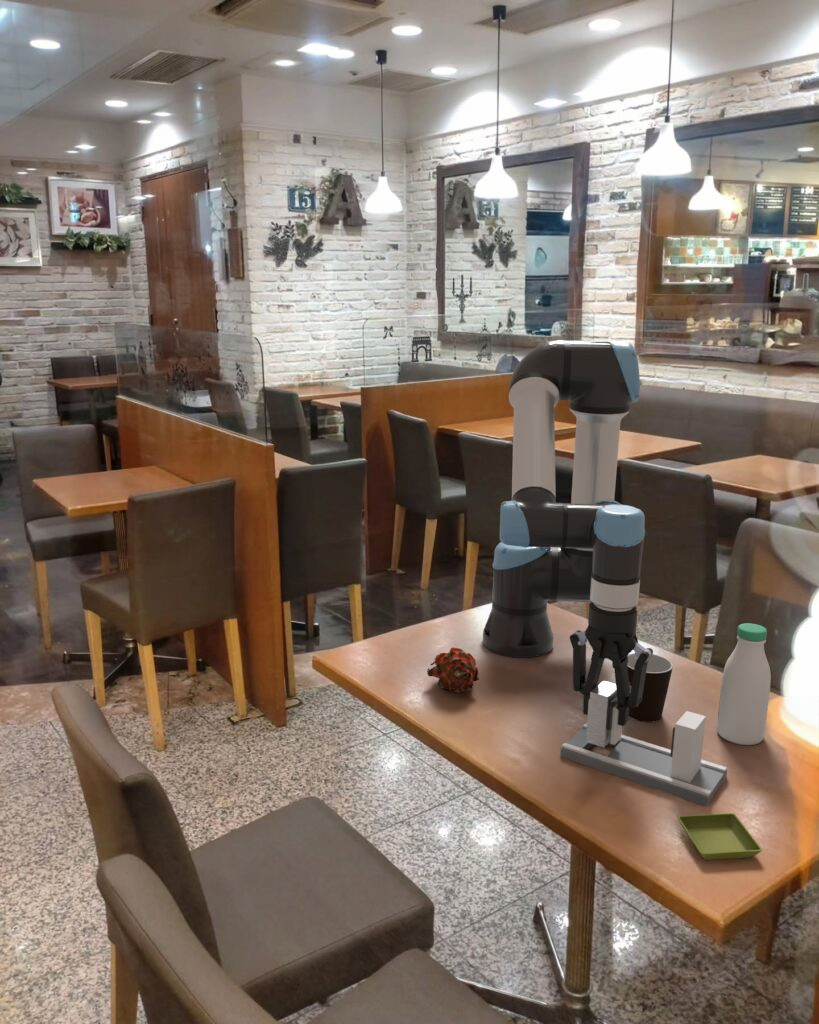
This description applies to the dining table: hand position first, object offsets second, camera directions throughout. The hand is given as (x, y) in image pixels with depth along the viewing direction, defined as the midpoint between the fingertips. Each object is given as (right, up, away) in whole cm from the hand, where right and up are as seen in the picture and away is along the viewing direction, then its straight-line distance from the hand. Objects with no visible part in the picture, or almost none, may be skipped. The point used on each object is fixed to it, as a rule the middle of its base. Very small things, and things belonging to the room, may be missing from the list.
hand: (603, 736), depth 144 cm
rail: (+5, -4, -3) cm, 7 cm away
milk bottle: (+25, -2, +7) cm, 26 cm away
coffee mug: (+11, +1, +16) cm, 19 cm away
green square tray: (+11, -10, -22) cm, 26 cm away
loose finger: (0, 0, 0) cm, 1 cm away
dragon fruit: (-24, +3, +24) cm, 34 cm away
